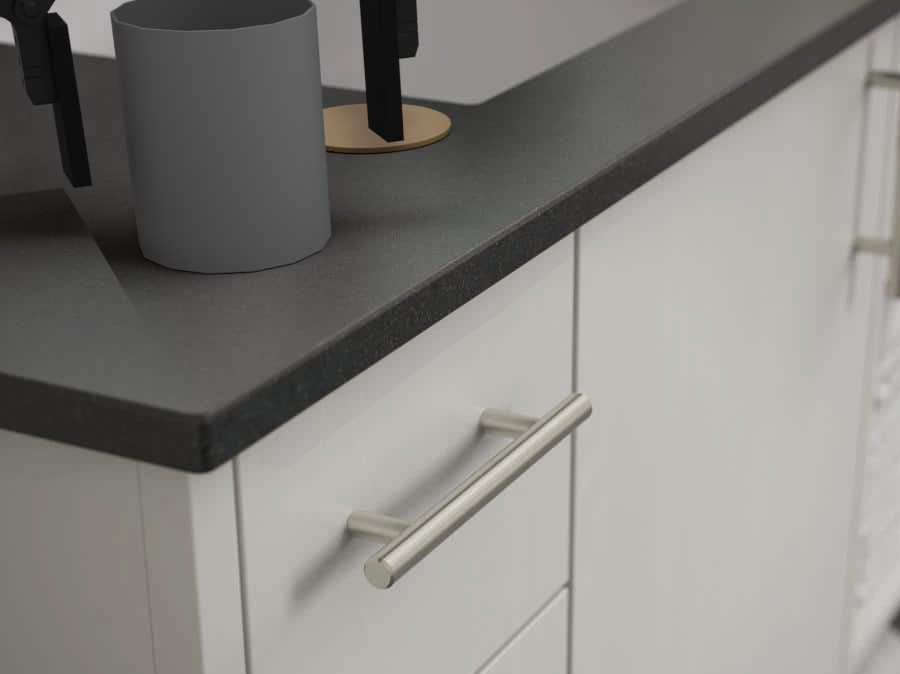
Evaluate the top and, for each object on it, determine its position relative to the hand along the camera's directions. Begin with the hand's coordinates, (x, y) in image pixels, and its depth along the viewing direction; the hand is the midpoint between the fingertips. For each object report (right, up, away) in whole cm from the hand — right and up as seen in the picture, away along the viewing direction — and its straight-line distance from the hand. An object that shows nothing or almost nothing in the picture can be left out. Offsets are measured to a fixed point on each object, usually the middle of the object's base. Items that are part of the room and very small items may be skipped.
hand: (236, 156), depth 71 cm
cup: (0, -3, +2) cm, 4 cm away
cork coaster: (+4, +5, +17) cm, 18 cm away
